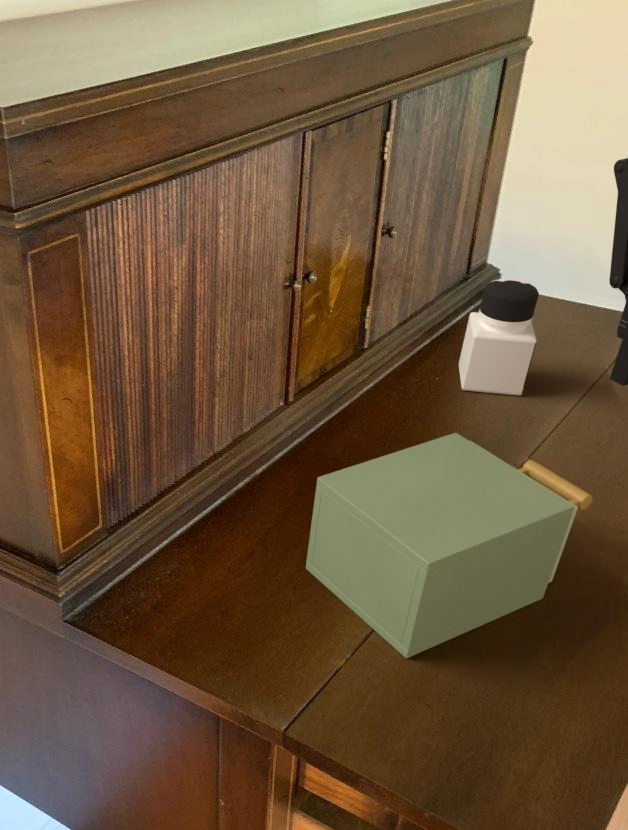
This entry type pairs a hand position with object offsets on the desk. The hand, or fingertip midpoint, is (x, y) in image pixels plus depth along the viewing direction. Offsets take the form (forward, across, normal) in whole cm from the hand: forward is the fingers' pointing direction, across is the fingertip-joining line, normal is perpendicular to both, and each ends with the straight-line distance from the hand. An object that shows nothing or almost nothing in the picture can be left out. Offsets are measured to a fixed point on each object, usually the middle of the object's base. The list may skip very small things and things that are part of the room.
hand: (627, 378), depth 80 cm
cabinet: (+15, 0, -20) cm, 25 cm away
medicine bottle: (+15, -26, +15) cm, 34 cm away
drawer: (+14, 0, -15) cm, 20 cm away
